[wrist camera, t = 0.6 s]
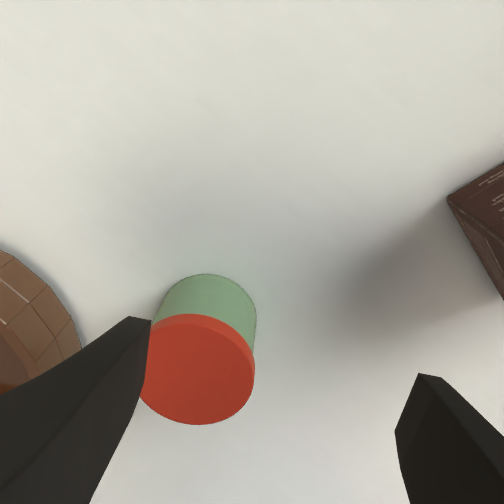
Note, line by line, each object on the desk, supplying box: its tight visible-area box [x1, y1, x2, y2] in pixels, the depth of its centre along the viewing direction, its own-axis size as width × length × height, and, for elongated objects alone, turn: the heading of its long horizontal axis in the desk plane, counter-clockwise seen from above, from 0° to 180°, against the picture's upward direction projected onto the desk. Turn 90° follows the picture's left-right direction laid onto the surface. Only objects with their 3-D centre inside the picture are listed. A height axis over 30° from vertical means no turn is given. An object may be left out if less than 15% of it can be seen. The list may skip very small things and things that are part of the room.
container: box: [140, 274, 256, 425], centre depth 20 cm, size 5×5×5 cm
